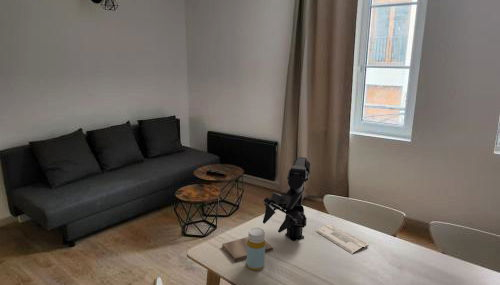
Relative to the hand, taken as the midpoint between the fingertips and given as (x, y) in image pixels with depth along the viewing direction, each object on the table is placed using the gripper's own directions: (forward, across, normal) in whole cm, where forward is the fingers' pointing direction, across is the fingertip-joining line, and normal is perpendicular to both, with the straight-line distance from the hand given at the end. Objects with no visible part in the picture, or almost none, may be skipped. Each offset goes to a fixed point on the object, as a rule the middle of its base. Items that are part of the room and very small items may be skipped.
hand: (270, 227), depth 137 cm
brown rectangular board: (+12, -11, +8) cm, 18 cm away
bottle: (+16, 0, +5) cm, 16 cm away
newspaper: (-16, +7, +36) cm, 41 cm away
